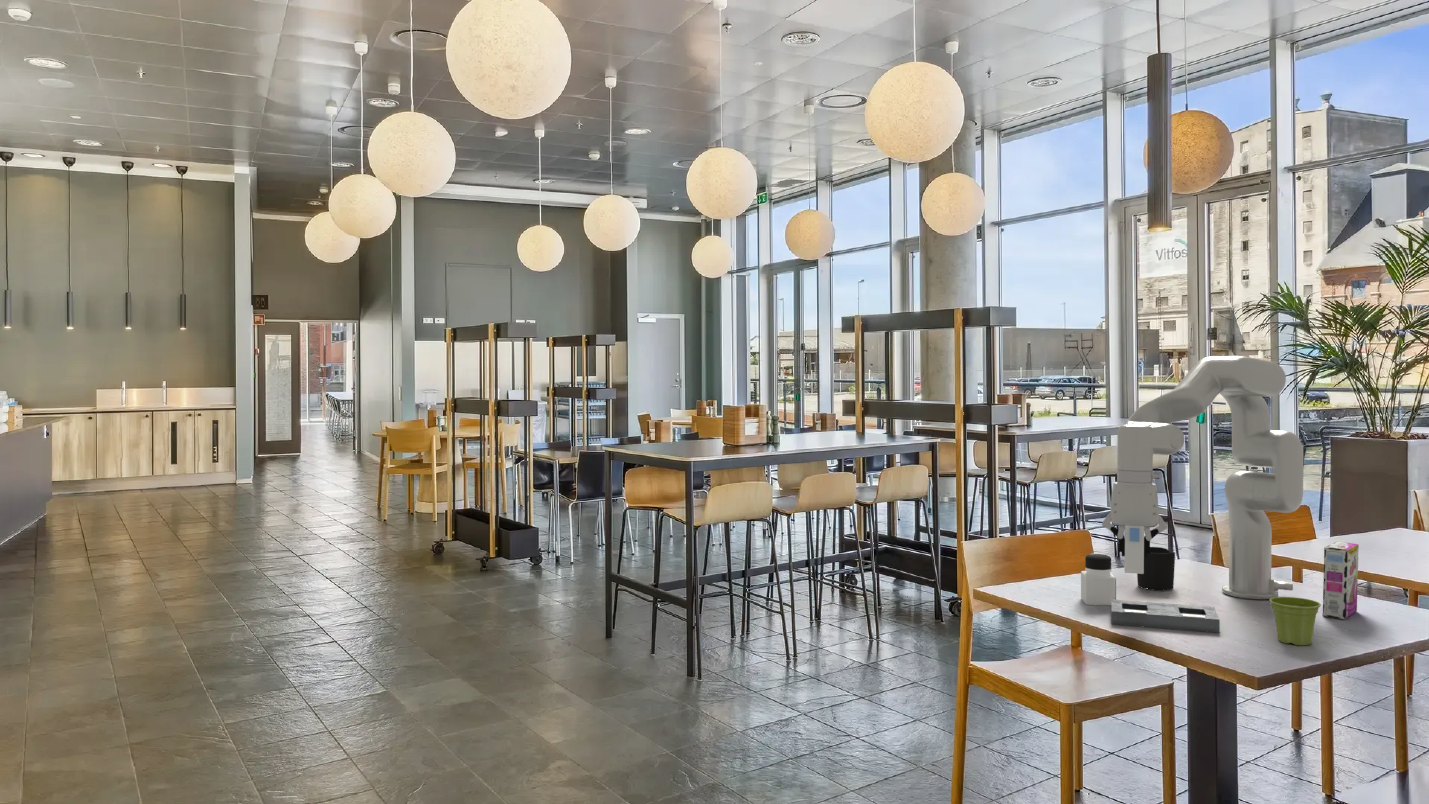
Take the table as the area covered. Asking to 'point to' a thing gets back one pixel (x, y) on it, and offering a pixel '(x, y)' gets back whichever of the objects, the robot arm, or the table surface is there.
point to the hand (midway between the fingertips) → (1134, 555)
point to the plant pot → (1294, 619)
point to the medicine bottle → (1098, 580)
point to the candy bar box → (1340, 580)
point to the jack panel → (1165, 616)
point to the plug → (1134, 549)
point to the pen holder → (1158, 570)
